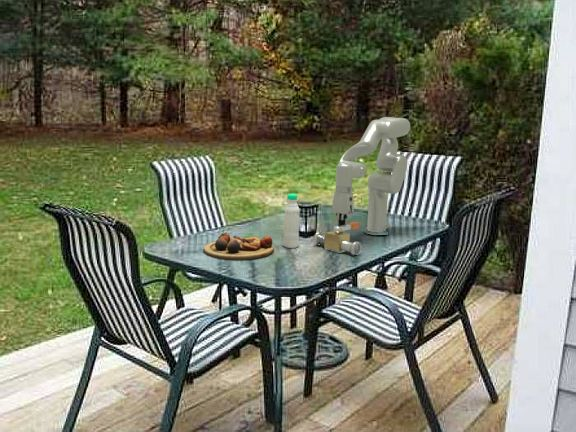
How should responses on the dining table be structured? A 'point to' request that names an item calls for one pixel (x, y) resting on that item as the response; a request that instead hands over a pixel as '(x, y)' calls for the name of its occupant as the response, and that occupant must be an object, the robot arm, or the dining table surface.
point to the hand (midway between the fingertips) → (341, 227)
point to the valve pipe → (337, 242)
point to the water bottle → (291, 222)
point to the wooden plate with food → (239, 247)
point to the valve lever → (346, 227)
